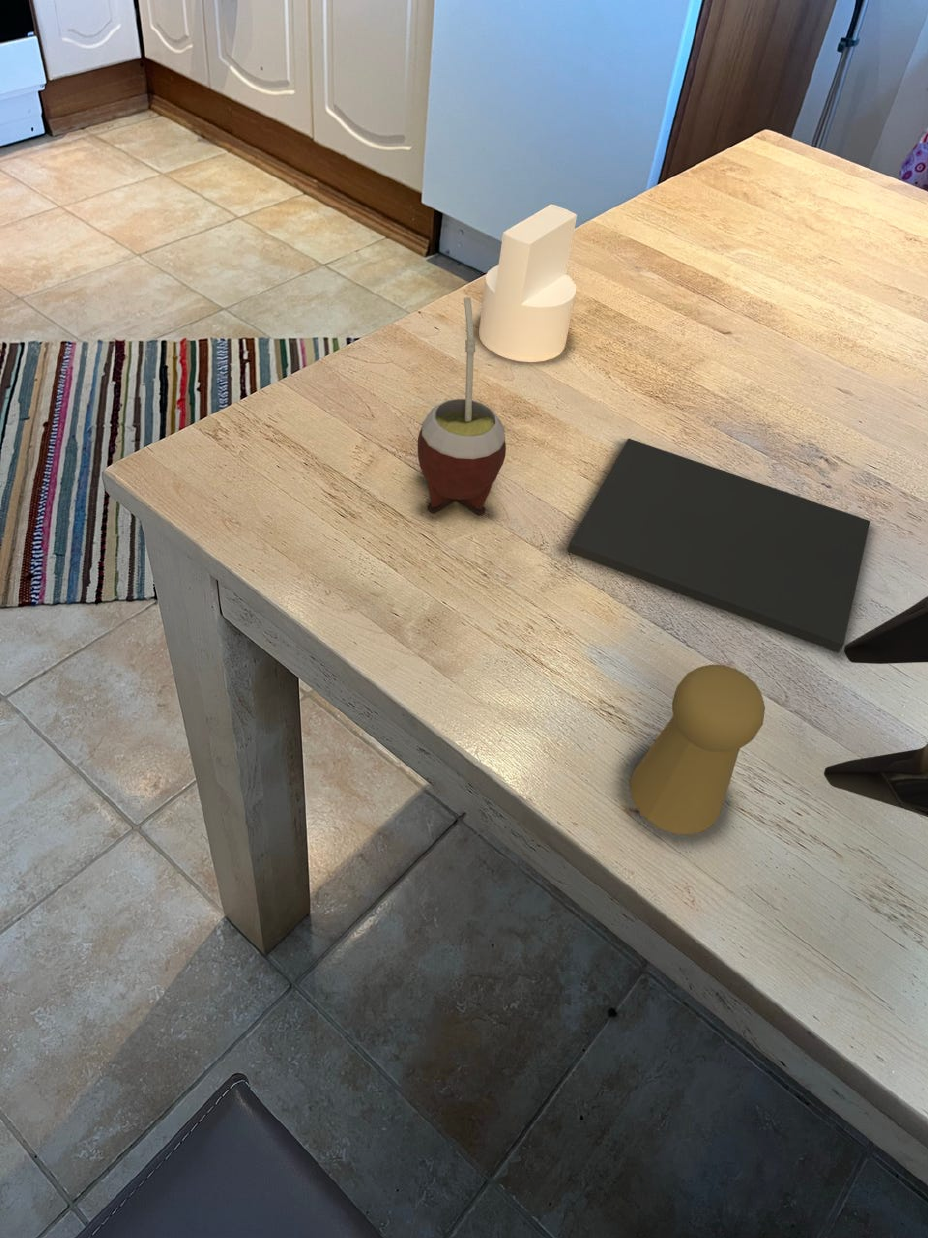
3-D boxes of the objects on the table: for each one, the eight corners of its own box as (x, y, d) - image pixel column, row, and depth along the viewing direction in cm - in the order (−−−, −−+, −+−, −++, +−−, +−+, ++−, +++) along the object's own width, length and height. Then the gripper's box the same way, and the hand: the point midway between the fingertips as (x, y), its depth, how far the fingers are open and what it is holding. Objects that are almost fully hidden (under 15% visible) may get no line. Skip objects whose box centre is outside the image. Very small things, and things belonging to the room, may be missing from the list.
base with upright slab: (509, 305, 101) (526, 192, 93) (581, 337, 99) (605, 224, 90) (461, 337, 96) (474, 222, 87) (536, 372, 93) (557, 256, 84)
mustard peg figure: (686, 743, 64) (737, 636, 56) (740, 815, 61) (802, 713, 53) (612, 771, 62) (653, 665, 54) (663, 848, 59) (716, 747, 51)
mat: (865, 529, 82) (870, 520, 81) (838, 653, 72) (843, 644, 71) (625, 446, 86) (628, 437, 86) (567, 552, 76) (569, 543, 75)
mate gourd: (457, 536, 76) (478, 375, 65) (389, 487, 79) (397, 326, 68) (517, 497, 80) (546, 339, 69) (450, 452, 83) (467, 294, 72)
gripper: (1114, 396, 44) (796, 500, 55) (1155, 673, 32) (736, 741, 42) (1180, 570, 49) (875, 637, 59) (1239, 873, 37) (841, 891, 47)
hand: (837, 712), depth 52 cm, fingers open, 9 cm apart
